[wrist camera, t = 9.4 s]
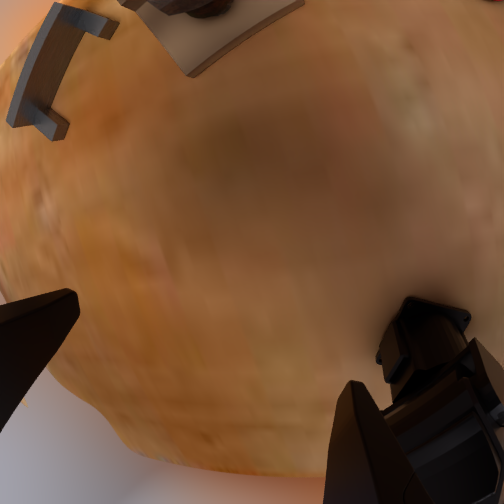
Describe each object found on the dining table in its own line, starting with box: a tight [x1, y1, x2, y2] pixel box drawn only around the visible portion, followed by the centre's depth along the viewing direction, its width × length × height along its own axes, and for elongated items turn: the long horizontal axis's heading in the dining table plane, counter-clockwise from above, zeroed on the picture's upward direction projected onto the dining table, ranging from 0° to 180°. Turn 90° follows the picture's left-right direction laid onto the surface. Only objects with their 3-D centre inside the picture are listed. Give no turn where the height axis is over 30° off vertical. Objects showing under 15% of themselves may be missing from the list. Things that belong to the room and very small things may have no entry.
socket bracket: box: [6, 2, 119, 141], centre depth 17 cm, size 5×11×4 cm, turn 145°
